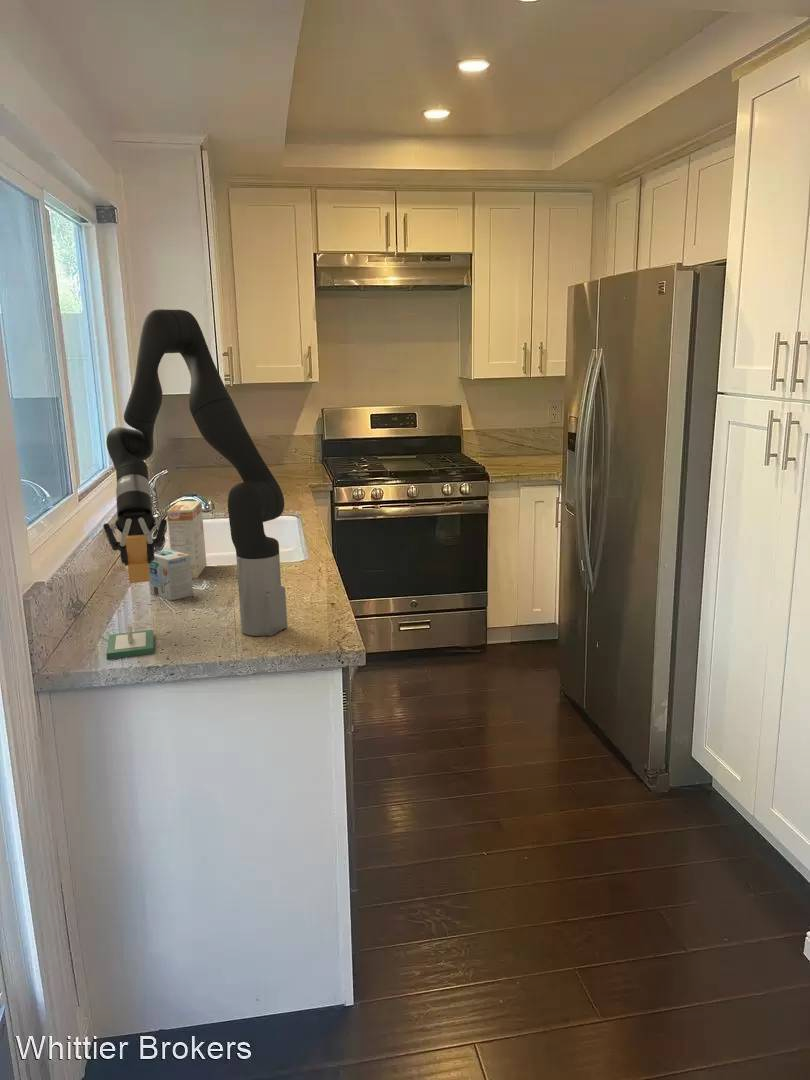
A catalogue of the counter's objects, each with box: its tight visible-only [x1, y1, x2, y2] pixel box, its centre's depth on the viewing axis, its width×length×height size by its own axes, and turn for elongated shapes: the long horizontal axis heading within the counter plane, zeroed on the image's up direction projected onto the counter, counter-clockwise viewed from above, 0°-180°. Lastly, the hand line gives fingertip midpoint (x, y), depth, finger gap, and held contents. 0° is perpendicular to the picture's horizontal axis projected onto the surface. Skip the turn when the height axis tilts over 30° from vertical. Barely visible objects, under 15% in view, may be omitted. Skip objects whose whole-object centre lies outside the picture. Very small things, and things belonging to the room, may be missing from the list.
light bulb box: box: [148, 548, 194, 601], centre depth 199 cm, size 11×7×11 cm, turn 47°
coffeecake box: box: [166, 500, 208, 580], centre depth 219 cm, size 15×7×20 cm, turn 4°
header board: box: [106, 626, 155, 660], centre depth 162 cm, size 12×9×4 cm
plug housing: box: [125, 534, 150, 584], centre depth 171 cm, size 10×4×10 cm, turn 18°
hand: (138, 562), depth 168 cm, fingers closed on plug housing, 4 cm apart
